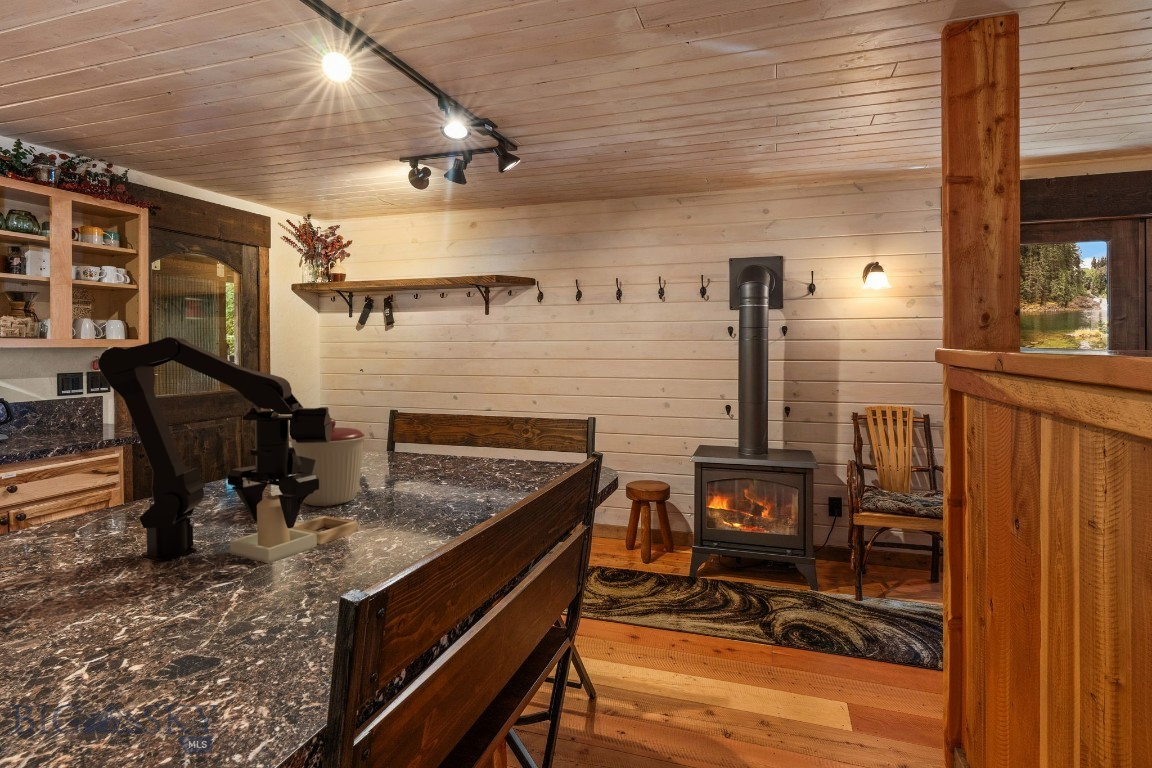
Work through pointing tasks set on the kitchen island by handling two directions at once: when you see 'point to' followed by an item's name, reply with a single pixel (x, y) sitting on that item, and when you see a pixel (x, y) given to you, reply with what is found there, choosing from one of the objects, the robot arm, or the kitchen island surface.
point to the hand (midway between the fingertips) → (273, 524)
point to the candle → (271, 523)
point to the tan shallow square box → (338, 527)
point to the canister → (334, 465)
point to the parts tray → (252, 550)
